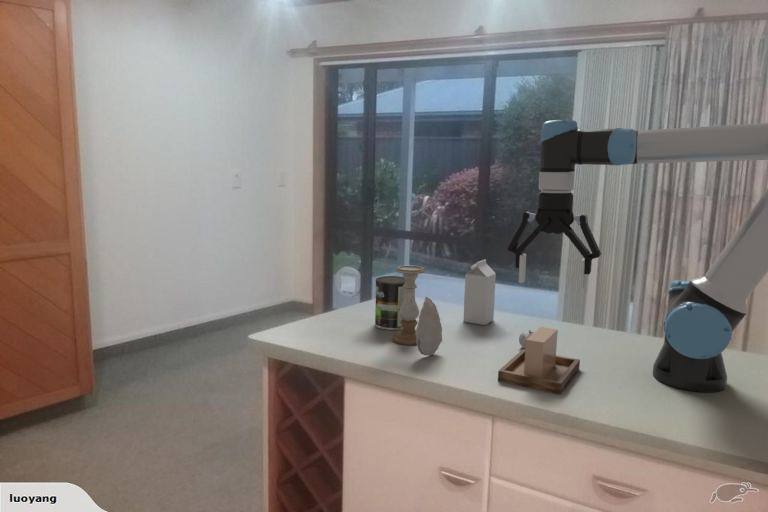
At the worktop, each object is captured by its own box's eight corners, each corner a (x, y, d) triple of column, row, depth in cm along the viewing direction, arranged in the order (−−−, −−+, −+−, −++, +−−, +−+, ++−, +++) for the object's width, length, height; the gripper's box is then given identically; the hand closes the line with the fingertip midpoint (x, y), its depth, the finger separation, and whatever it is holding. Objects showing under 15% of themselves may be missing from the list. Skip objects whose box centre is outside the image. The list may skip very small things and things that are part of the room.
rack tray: (579, 369, 139) (579, 359, 139) (560, 394, 124) (561, 383, 123) (522, 358, 146) (522, 349, 146) (497, 380, 131) (498, 370, 130)
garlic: (538, 353, 151) (539, 333, 150) (517, 350, 152) (518, 331, 152) (540, 346, 156) (541, 327, 155) (519, 343, 158) (520, 325, 157)
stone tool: (422, 361, 143) (424, 302, 140) (412, 358, 145) (413, 299, 142) (443, 352, 150) (445, 295, 147) (433, 349, 152) (435, 293, 149)
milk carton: (493, 320, 180) (496, 260, 177) (484, 325, 174) (487, 263, 171) (472, 317, 184) (475, 258, 181) (463, 322, 178) (465, 261, 175)
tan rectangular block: (555, 365, 139) (557, 329, 138) (541, 381, 129) (543, 342, 127) (538, 362, 141) (540, 326, 140) (523, 377, 131) (525, 339, 129)
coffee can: (380, 331, 167) (381, 283, 164) (370, 321, 176) (371, 276, 174) (414, 329, 170) (415, 282, 168) (402, 319, 180) (403, 275, 177)
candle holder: (429, 343, 157) (432, 269, 153) (400, 346, 154) (401, 271, 150) (416, 334, 165) (418, 264, 161) (387, 337, 162) (389, 265, 158)
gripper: (618, 192, 126) (611, 288, 129) (506, 189, 138) (503, 277, 141) (612, 193, 119) (606, 294, 123) (496, 190, 131) (493, 282, 135)
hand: (551, 285), depth 132 cm, fingers open, 13 cm apart
